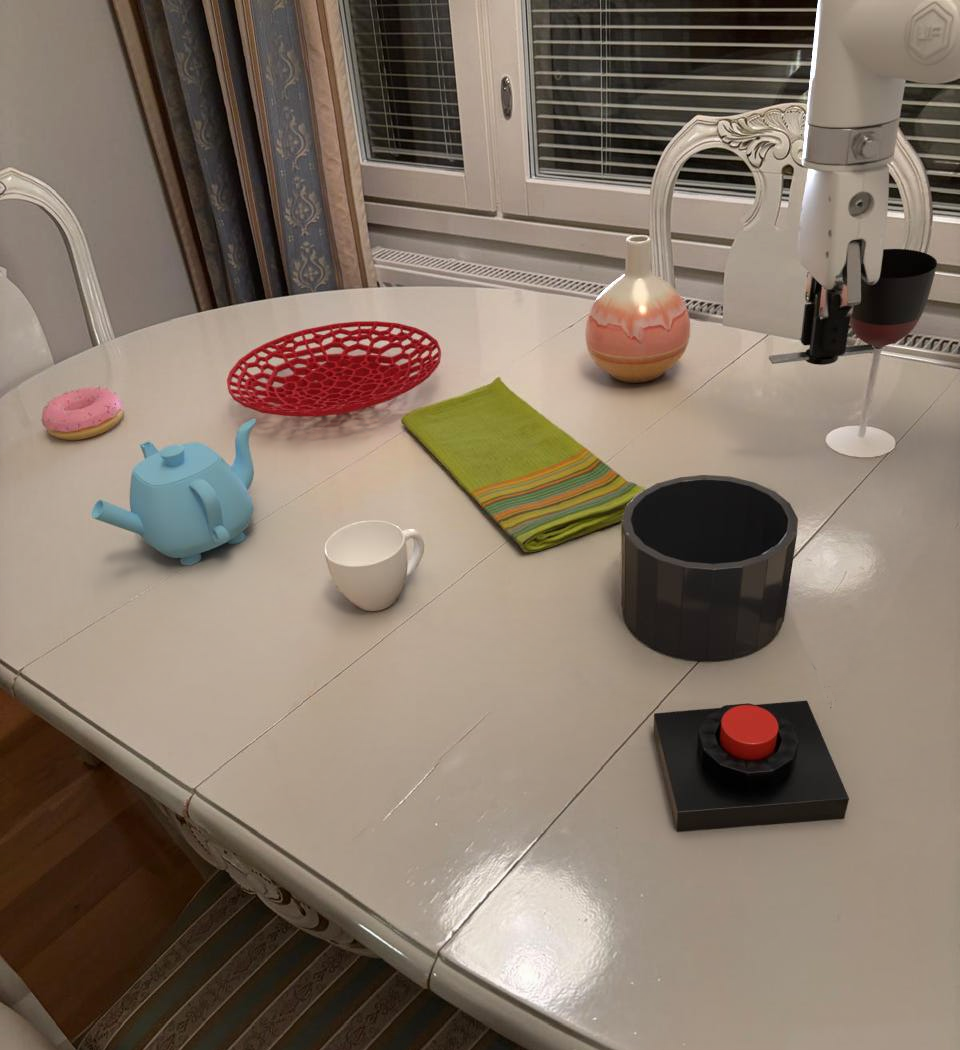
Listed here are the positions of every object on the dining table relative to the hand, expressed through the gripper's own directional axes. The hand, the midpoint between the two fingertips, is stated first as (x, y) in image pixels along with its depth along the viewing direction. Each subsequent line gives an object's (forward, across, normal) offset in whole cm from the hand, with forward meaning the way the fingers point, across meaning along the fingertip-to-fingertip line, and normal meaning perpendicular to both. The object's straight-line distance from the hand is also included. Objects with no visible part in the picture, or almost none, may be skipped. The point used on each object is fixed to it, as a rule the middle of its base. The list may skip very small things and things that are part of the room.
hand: (822, 347), depth 90 cm
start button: (+12, -41, +16) cm, 45 cm away
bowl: (+14, +34, +54) cm, 66 cm away
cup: (+15, -14, +46) cm, 50 cm away
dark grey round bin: (+15, -20, +16) cm, 30 cm away
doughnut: (+14, +32, +90) cm, 97 cm away
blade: (+1, 0, 0) cm, 1 cm away
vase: (+15, +32, +14) cm, 37 cm away
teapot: (+14, 0, +68) cm, 69 cm away
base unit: (+15, -40, +16) cm, 46 cm away
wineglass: (+15, +8, -8) cm, 19 cm away
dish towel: (+15, +10, +32) cm, 36 cm away
